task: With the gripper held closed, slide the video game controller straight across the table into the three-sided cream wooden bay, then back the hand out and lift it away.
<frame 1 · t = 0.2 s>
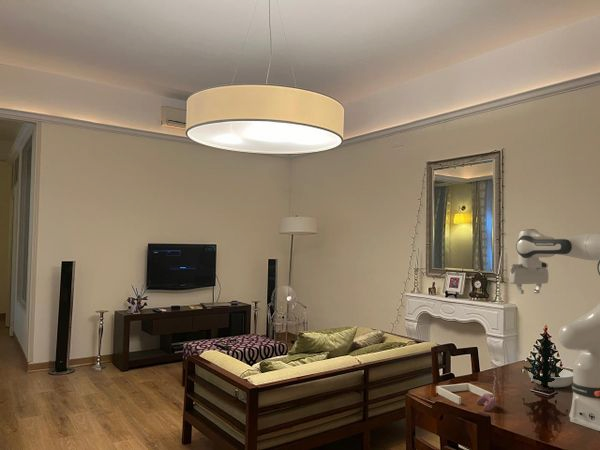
hand: (529, 293, 222), 48 cm above the table, tool pointing down, fingers open, 8 cm apart
serving bowl: (551, 385, 238), on the table
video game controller: (486, 408, 204), on the table
cream bay: (464, 396, 218), on the table
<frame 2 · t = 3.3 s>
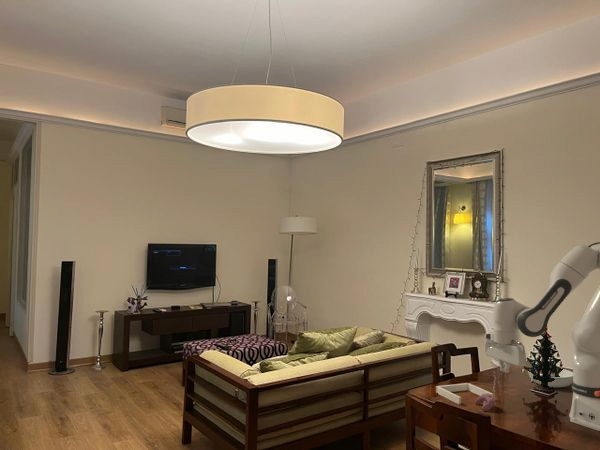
hand: (504, 371, 195), 18 cm above the table, tool pointing down, fingers closed
nothing on the table moved.
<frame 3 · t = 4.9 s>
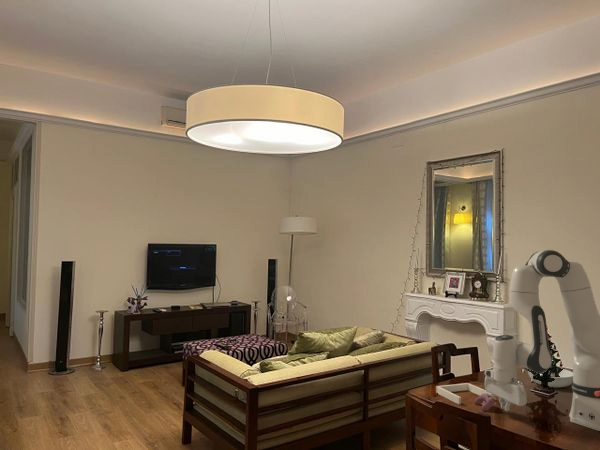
hand: (505, 409, 194), 3 cm above the table, tool pointing down, fingers closed
nothing on the table moved.
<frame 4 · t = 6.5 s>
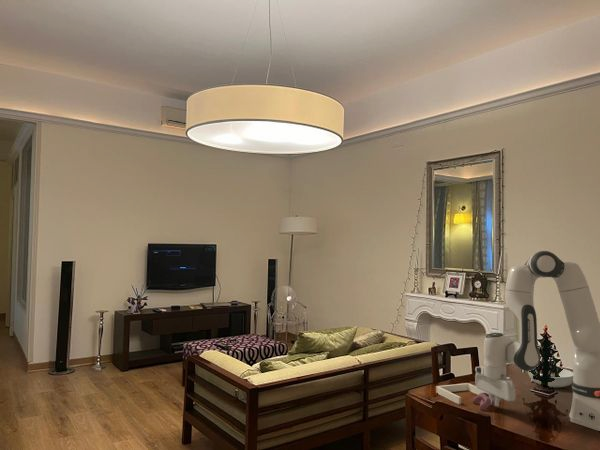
hand: (495, 405, 199), 3 cm above the table, tool pointing down, fingers closed
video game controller: (482, 407, 205), on the table, touching gripper
everything else where it was.
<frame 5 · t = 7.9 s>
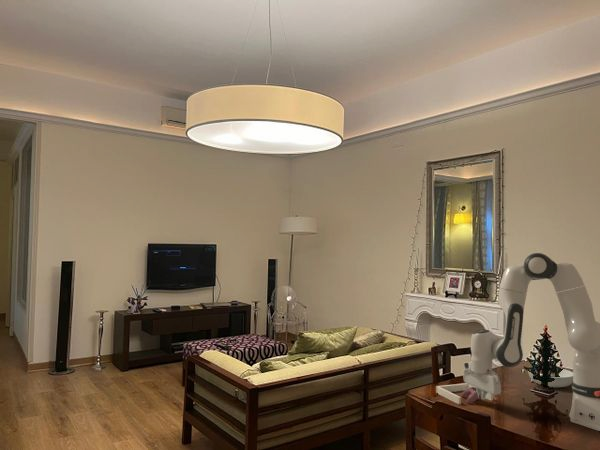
hand: (481, 399, 207), 3 cm above the table, tool pointing down, fingers closed
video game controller: (470, 401, 213), on the table, touching gripper
everything else where it was.
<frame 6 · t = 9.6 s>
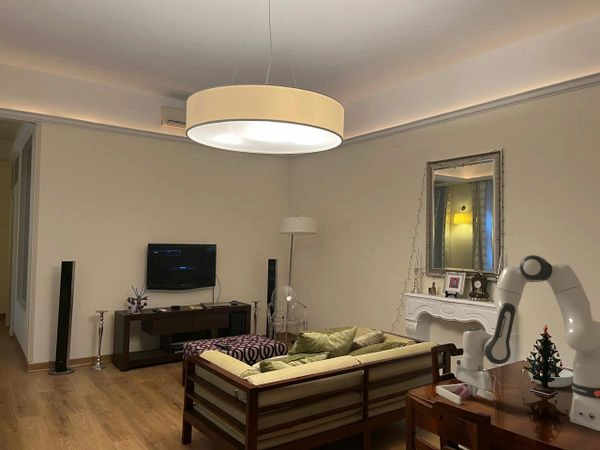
hand: (473, 395, 213), 3 cm above the table, tool pointing down, fingers closed
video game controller: (463, 397, 219), on the table, touching gripper
everything else where it was.
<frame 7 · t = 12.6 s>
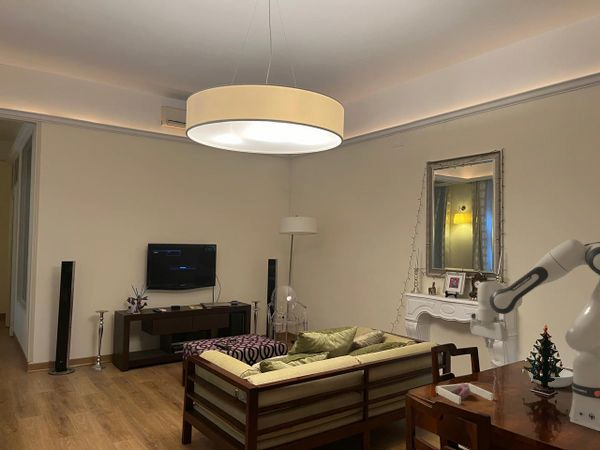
hand: (489, 347, 210), 24 cm above the table, tool pointing down, fingers closed
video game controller: (461, 397, 219), on the table
everything else where it was.
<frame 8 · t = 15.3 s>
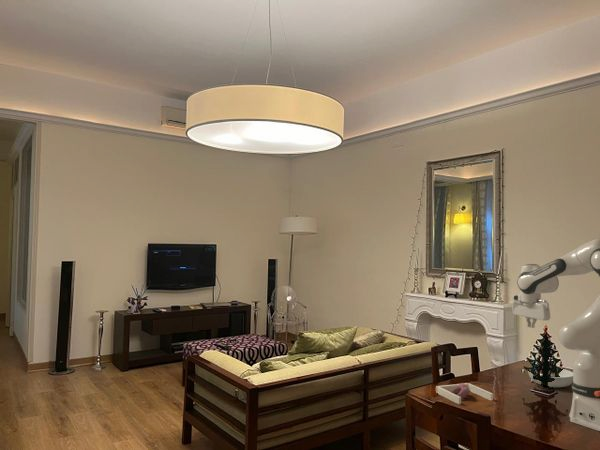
hand: (530, 327, 226), 31 cm above the table, tool pointing down, fingers closed
nothing on the table moved.
at the end: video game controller inside the target area on the cream bay (1.8 cm from its centre), point 0.0 cm above the cream bay's base; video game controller moved 15.9 cm from its start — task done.
